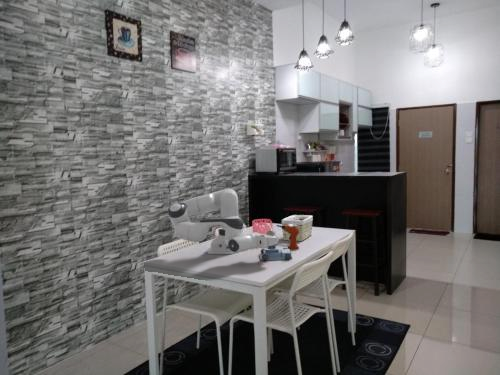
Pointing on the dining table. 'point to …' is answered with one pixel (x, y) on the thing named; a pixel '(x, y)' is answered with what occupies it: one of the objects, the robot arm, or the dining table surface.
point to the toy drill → (291, 236)
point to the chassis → (275, 254)
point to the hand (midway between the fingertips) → (272, 236)
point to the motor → (271, 235)
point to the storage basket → (298, 226)
